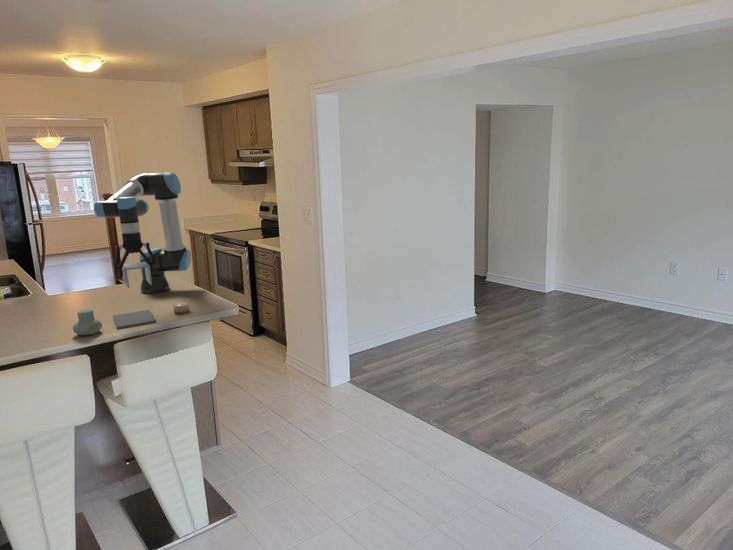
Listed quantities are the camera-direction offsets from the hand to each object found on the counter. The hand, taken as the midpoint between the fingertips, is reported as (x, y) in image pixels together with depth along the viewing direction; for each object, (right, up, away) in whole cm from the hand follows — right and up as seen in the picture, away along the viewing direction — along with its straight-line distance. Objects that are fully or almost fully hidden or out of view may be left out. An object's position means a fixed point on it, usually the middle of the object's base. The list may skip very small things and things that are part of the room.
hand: (137, 280), depth 236 cm
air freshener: (-15, -23, -14) cm, 30 cm away
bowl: (+16, -15, +13) cm, 25 cm away
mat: (-3, -18, +2) cm, 18 cm away
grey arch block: (0, -1, 0) cm, 1 cm away
